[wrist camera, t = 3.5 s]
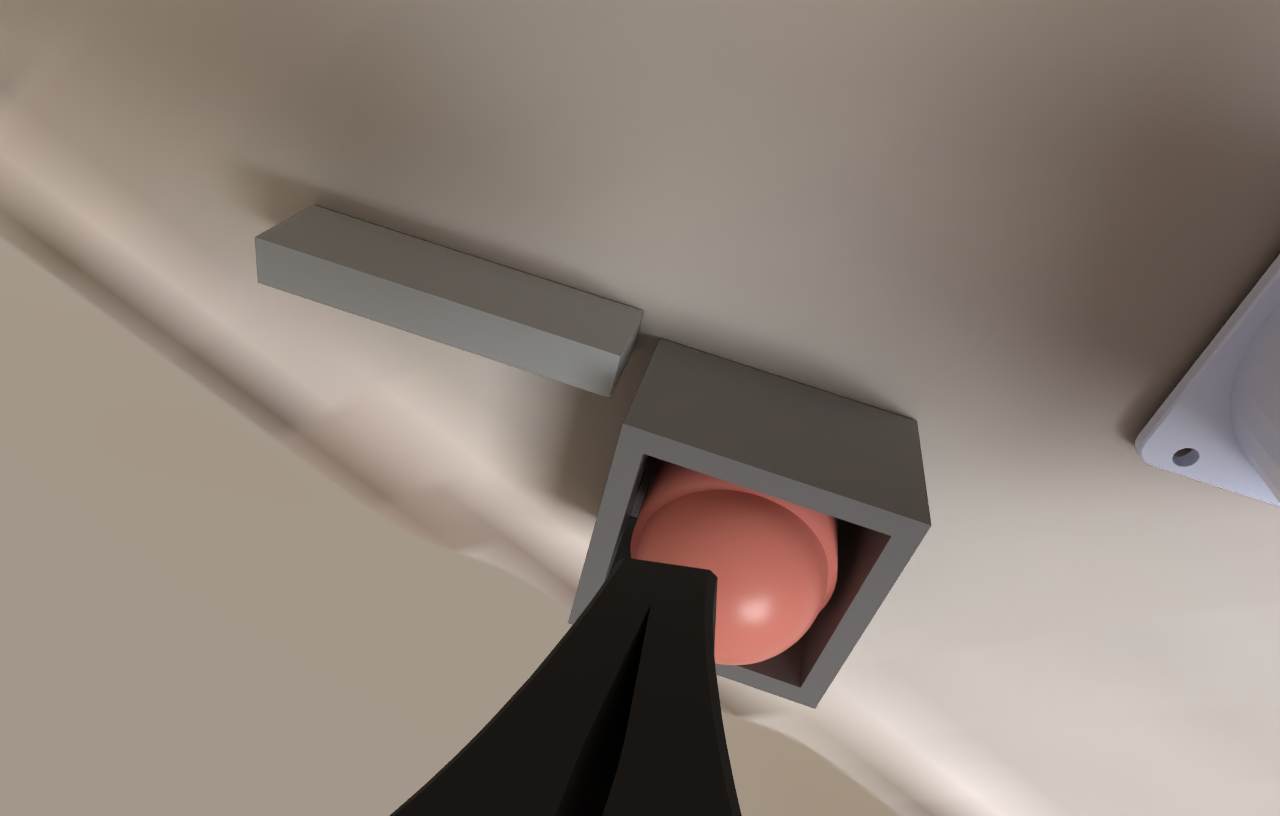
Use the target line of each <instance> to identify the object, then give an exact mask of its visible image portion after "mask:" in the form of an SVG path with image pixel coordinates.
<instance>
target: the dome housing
mask: <svg viewBox="0 0 1280 816" xmlns="http://www.w3.org/2000/svg"><path fill="white" fill-rule="evenodd" d="M648 455H649V456H652V457H655V458H658V459H661V460H664V461H667V462H670V463H673V464H676V465H679V466H682V467H685V468H688V469H691V470H694V471H697V472H700V473H703V474H706V475H709V476H712V477H715V478H718V479H721V480H724V481H727V482H730V483H733V484H736V485H739V486H742V487H745V488H748V489H751V490H754V491H757V492H760V493H763V494H766V495H769V496H772V497H775V498H778V499H781V500H784V501H787V502H790V503H793V504H796V505H799V506H802V507H805V508H808V509H812V510H815V511H818V512H821V513H824V514H827V515H830V516H833V517H836V518H838V568H837V581H836V585H835V589H834V592H833V594H832V596H831V598H830V600H829V601H828V603H827V604H826V606H825V607H824V608H823V609H822V610H821V611H820V612H819V613H818V615H817V617H816V619H815V620H814V622H813V624H812V625H811V626H810V628H809V629H808V630H807V632H806V633H805V634H804V635H803V636H802V637H801V638H800V639H799V640H798V641H797V642H796V643H795V644H793V645H792V646H791V647H789V648H788V649H787V650H785V651H784V652H782V653H780V654H778V655H776V656H774V657H772V658H769V659H767V660H764V661H761V662H758V663H753V664H747V665H722V664H716V663H715V667H716V675H719V676H722V677H725V678H728V679H731V680H734V681H737V682H739V683H742V684H745V685H748V686H751V687H754V688H757V689H760V690H762V691H765V692H768V693H771V694H774V695H777V696H780V697H783V698H786V699H788V700H791V701H794V702H797V703H800V704H803V705H806V706H809V707H811V708H814V709H815V708H816V706H817V705H818V703H819V701H820V700H821V698H822V697H823V695H824V694H825V692H826V690H827V689H828V687H829V686H830V684H831V683H832V681H833V679H834V678H835V676H836V675H837V673H838V672H839V670H840V668H841V667H842V665H843V664H844V662H845V661H846V659H847V657H848V656H849V654H850V653H851V651H852V650H853V648H854V646H855V645H856V643H857V642H858V640H859V639H860V637H861V635H862V634H863V632H864V631H865V629H866V628H867V626H868V624H869V623H870V621H871V620H872V618H873V616H874V615H875V613H876V612H877V610H878V609H879V607H880V605H881V604H882V602H883V601H884V599H885V598H886V596H887V594H888V593H889V591H890V590H891V588H892V587H893V585H894V583H895V582H896V580H897V579H898V577H899V576H900V574H901V572H902V571H903V569H904V568H905V566H906V565H907V563H908V561H909V560H910V558H911V557H912V555H913V554H914V552H915V550H916V549H917V547H918V546H919V544H920V543H921V541H922V539H923V538H924V536H925V535H926V533H927V531H928V530H929V528H930V527H931V519H930V512H929V505H928V498H927V491H926V483H925V476H924V469H923V462H922V454H921V447H920V440H919V433H918V425H917V421H915V420H912V419H909V418H906V417H903V416H899V415H896V414H893V413H890V412H887V411H884V410H881V409H878V408H875V407H872V406H869V405H865V404H862V403H859V402H856V401H853V400H850V399H847V398H844V397H841V396H838V395H834V394H831V393H828V392H825V391H822V390H819V389H816V388H813V387H810V386H807V385H804V384H800V383H797V382H794V381H791V380H788V379H785V378H782V377H779V376H776V375H773V374H769V373H766V372H763V371H760V370H757V369H754V368H751V367H748V366H745V365H742V364H739V363H735V362H732V361H729V360H726V359H723V358H720V357H717V356H714V355H711V354H708V353H704V352H701V351H698V350H695V349H692V348H689V347H686V346H683V345H680V344H677V343H674V342H670V341H667V340H664V339H661V338H660V340H659V342H658V344H657V347H656V349H655V351H654V354H653V356H652V358H651V360H650V363H649V365H648V367H647V369H646V372H645V374H644V376H643V379H642V381H641V383H640V385H639V388H638V390H637V392H636V395H635V397H634V399H633V401H632V404H631V406H630V408H629V410H628V413H627V415H626V417H625V420H624V422H623V425H622V428H621V432H620V435H619V439H618V443H617V446H616V450H615V454H614V457H613V461H612V465H611V468H610V472H609V476H608V479H607V483H606V486H605V490H604V494H603V497H602V501H601V505H600V508H599V512H598V516H597V519H596V523H595V527H594V530H593V534H592V537H591V541H590V545H589V548H588V552H587V556H586V559H585V563H584V567H583V570H582V574H581V578H580V581H579V585H578V588H577V592H576V596H575V599H574V603H573V607H572V610H571V614H570V618H569V621H568V623H569V624H572V625H573V624H574V623H575V621H576V620H577V619H578V618H579V616H580V615H581V614H582V612H583V611H584V610H585V608H586V607H587V606H588V604H589V603H590V602H591V600H592V599H593V597H594V596H595V595H596V593H597V592H598V590H599V589H600V588H601V586H602V585H603V583H604V582H605V580H606V579H607V577H608V576H609V574H610V573H611V571H612V570H613V568H614V567H615V565H616V564H617V562H619V561H620V560H622V559H623V558H631V551H630V550H631V539H632V534H633V530H634V528H635V525H636V522H637V519H636V518H633V517H630V514H631V510H632V507H633V504H634V501H635V498H636V494H637V491H638V488H639V485H640V481H641V478H642V475H643V472H644V468H645V465H646V462H647V459H648Z"/></svg>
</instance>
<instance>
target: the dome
mask: <svg viewBox="0 0 1280 816" xmlns="http://www.w3.org/2000/svg"><path fill="white" fill-rule="evenodd" d="M630 551H631V558H632V559H639V560H646V561H653V562H660V563H667V564H673V565H680V566H687V567H694V568H701V569H708V570H711V571H712V572H713V573H714V574H715V575H716V576H717V577H718V580H717V602H716V625H715V648H714V657H715V663H716V664H722V665H747V664H753V663H758V662H761V661H764V660H767V659H769V658H772V657H774V656H776V655H778V654H780V653H782V652H784V651H785V650H787V649H788V648H789V647H791V646H792V645H793V644H795V643H796V642H797V641H798V640H799V639H800V638H801V637H802V636H803V635H804V634H805V633H806V632H807V630H808V629H809V628H810V626H811V625H812V624H813V622H814V620H815V619H816V617H817V615H818V613H819V612H820V611H821V610H822V609H823V608H824V607H825V606H826V604H827V603H828V601H829V600H830V598H831V596H832V594H833V592H834V589H835V585H836V581H837V568H838V518H836V517H833V516H830V515H827V514H824V513H821V512H818V511H815V510H812V509H808V508H805V507H802V506H799V505H796V504H793V503H790V502H787V501H784V500H781V499H778V498H775V497H772V496H769V495H766V494H763V493H760V492H757V491H754V490H751V489H748V488H745V487H742V486H739V485H736V484H733V483H730V482H727V481H724V480H721V479H718V478H715V477H712V476H709V475H706V474H703V473H700V472H697V471H694V470H691V469H688V468H685V467H682V466H679V465H676V464H673V463H670V462H667V461H664V460H661V459H658V462H657V464H656V467H655V470H654V473H653V476H652V478H651V481H650V484H649V487H648V490H647V493H646V496H645V499H644V502H643V504H642V507H641V510H640V513H639V516H638V519H637V522H636V525H635V528H634V530H633V534H632V539H631V550H630Z"/></svg>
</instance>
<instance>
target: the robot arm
mask: <svg viewBox="0 0 1280 816" xmlns="http://www.w3.org/2000/svg"><path fill="white" fill-rule="evenodd" d="M1184 448H1192V450H1191V452H1189V453H1188V454H1186V455H1184V456H1180V457H1175V456H1173V455H1174V454H1175V453H1176V452H1177V451H1179V450H1181V449H1184ZM1135 449H1136V451H1137V453H1138V455H1139V457H1140V458H1141V459H1142V461H1143V462H1145V463H1146V464H1148V465H1150V466H1153V467H1156V468H1159V469H1163V470H1166V471H1169V472H1172V473H1175V474H1178V475H1181V476H1184V477H1187V478H1191V479H1194V480H1197V481H1200V482H1203V483H1206V484H1209V485H1212V486H1216V487H1219V488H1222V489H1225V490H1228V491H1231V492H1234V493H1237V494H1240V495H1244V496H1247V497H1250V498H1253V499H1256V500H1259V501H1262V502H1265V503H1269V504H1272V505H1275V506H1278V507H1280V254H1279V256H1278V257H1277V258H1276V259H1275V261H1274V262H1273V263H1272V264H1271V266H1270V267H1269V268H1268V270H1267V271H1266V272H1265V273H1264V275H1263V276H1262V277H1261V279H1260V280H1259V281H1258V282H1257V284H1256V285H1255V286H1254V288H1253V289H1252V290H1251V291H1250V293H1249V294H1248V295H1247V296H1246V298H1245V299H1244V300H1243V302H1242V303H1241V304H1240V305H1239V307H1238V308H1237V309H1236V311H1235V312H1234V313H1233V314H1232V316H1231V317H1230V318H1229V320H1228V321H1227V322H1226V323H1225V325H1224V326H1223V327H1222V328H1221V330H1220V331H1219V332H1218V334H1217V335H1216V336H1215V337H1214V339H1213V340H1212V341H1211V343H1210V344H1209V345H1208V346H1207V348H1206V349H1205V350H1204V352H1203V353H1202V354H1201V355H1200V357H1199V358H1198V359H1197V360H1196V362H1195V363H1194V364H1193V366H1192V367H1191V368H1190V369H1189V371H1188V372H1187V373H1186V375H1185V376H1184V377H1183V378H1182V380H1181V381H1180V382H1179V384H1178V385H1177V386H1176V387H1175V389H1174V390H1173V391H1172V392H1171V394H1170V395H1169V396H1168V398H1167V399H1166V400H1165V401H1164V403H1163V404H1162V405H1161V407H1160V408H1159V409H1158V410H1157V412H1156V413H1155V414H1154V416H1153V417H1152V418H1151V419H1150V421H1149V422H1148V423H1147V424H1146V426H1145V427H1144V428H1143V430H1142V431H1141V432H1140V433H1139V435H1138V436H1137V438H1136V441H1135ZM717 580H718V577H717V576H716V575H715V574H714V573H713V572H712V571H711V570H708V569H701V568H694V567H687V566H680V565H673V564H667V563H660V562H653V561H646V560H639V559H632V558H623V559H622V560H620V561H619V562H617V564H616V565H615V567H614V568H613V570H612V571H611V573H610V574H609V576H608V577H607V579H606V580H605V582H604V583H603V585H602V586H601V588H600V589H599V590H598V592H597V593H596V595H595V596H594V597H593V599H592V600H591V602H590V603H589V604H588V606H587V607H586V608H585V610H584V611H583V612H582V614H581V615H580V616H579V618H578V619H577V620H576V621H575V623H574V624H573V626H572V627H571V628H570V629H569V631H568V632H567V633H566V634H565V636H564V637H563V638H562V639H561V640H560V642H559V643H558V644H557V645H556V647H555V648H554V649H553V650H552V651H551V653H550V654H549V655H548V656H547V658H546V659H545V660H544V661H543V662H542V664H541V665H540V666H539V667H538V668H537V670H536V671H535V672H534V673H533V674H532V675H531V677H530V678H529V679H528V680H527V681H526V682H525V683H524V684H523V686H522V687H521V688H520V689H519V690H518V691H517V692H516V693H515V694H514V695H513V697H512V698H511V699H510V700H509V701H508V702H507V703H506V704H505V705H504V707H503V708H502V709H501V710H500V711H499V712H498V713H497V714H496V715H495V716H494V717H493V718H492V719H491V721H490V722H489V723H488V724H487V725H486V726H485V727H484V728H483V729H482V730H481V731H480V732H479V733H478V734H477V735H476V736H475V737H474V738H473V739H472V740H471V741H470V742H469V743H468V744H467V745H466V746H465V747H464V748H463V749H462V750H461V751H460V752H459V753H458V754H457V755H456V756H455V757H454V758H453V759H452V760H451V761H450V762H449V763H448V764H447V765H445V766H444V768H442V769H441V770H440V771H439V772H438V773H437V774H436V775H435V776H434V777H433V778H432V779H431V780H430V781H428V782H427V783H426V784H425V785H424V786H423V787H422V788H421V789H420V790H419V791H417V792H416V793H415V794H414V795H413V796H412V797H411V798H409V799H408V800H407V801H406V802H405V803H404V804H403V805H401V806H400V807H399V808H398V809H397V810H396V811H395V812H393V813H392V814H391V815H390V816H741V812H740V807H739V803H738V798H737V794H736V789H735V785H734V780H733V775H732V770H731V765H730V760H729V755H728V750H727V745H726V739H725V733H724V727H723V722H722V715H721V707H720V700H719V692H718V684H717V677H716V667H715V657H714V648H715V625H716V602H717Z"/></svg>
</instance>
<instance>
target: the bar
mask: <svg viewBox="0 0 1280 816" xmlns="http://www.w3.org/2000/svg"><path fill="white" fill-rule="evenodd" d="M255 246H256V261H257V275H258V283H261V284H264V285H267V286H270V287H273V288H276V289H279V290H282V291H285V292H288V293H291V294H294V295H297V296H300V297H304V298H307V299H310V300H313V301H316V302H319V303H322V304H325V305H328V306H331V307H334V308H337V309H340V310H343V311H346V312H349V313H352V314H355V315H358V316H361V317H364V318H367V319H370V320H373V321H377V322H380V323H383V324H386V325H389V326H392V327H395V328H398V329H401V330H404V331H407V332H410V333H413V334H416V335H419V336H422V337H425V338H428V339H431V340H434V341H437V342H440V343H443V344H446V345H449V346H453V347H456V348H459V349H462V350H465V351H468V352H471V353H474V354H477V355H480V356H483V357H486V358H489V359H492V360H495V361H498V362H501V363H504V364H507V365H510V366H513V367H516V368H519V369H522V370H525V371H529V372H532V373H535V374H538V375H541V376H544V377H547V378H550V379H553V380H556V381H559V382H562V383H565V384H568V385H571V386H574V387H577V388H580V389H583V390H586V391H589V392H592V393H595V394H598V395H601V396H605V397H608V398H610V396H611V394H612V392H613V390H614V388H615V386H616V384H617V382H618V380H619V378H620V376H621V374H622V372H623V370H624V368H625V366H626V364H627V362H628V359H629V357H630V355H631V353H632V351H633V348H634V344H635V341H636V337H637V333H638V329H639V326H640V322H641V318H642V314H643V311H642V310H639V309H636V308H633V307H630V306H626V305H623V304H620V303H617V302H614V301H611V300H608V299H605V298H602V297H598V296H595V295H592V294H589V293H586V292H583V291H580V290H577V289H574V288H570V287H567V286H564V285H561V284H558V283H555V282H552V281H549V280H546V279H542V278H539V277H536V276H533V275H530V274H527V273H524V272H521V271H518V270H514V269H511V268H508V267H505V266H502V265H499V264H496V263H493V262H490V261H486V260H483V259H480V258H477V257H474V256H471V255H468V254H465V253H462V252H458V251H455V250H452V249H449V248H446V247H443V246H440V245H437V244H434V243H431V242H427V241H424V240H421V239H418V238H415V237H412V236H409V235H406V234H403V233H399V232H396V231H393V230H390V229H387V228H384V227H381V226H378V225H375V224H371V223H368V222H365V221H362V220H359V219H356V218H353V217H350V216H347V215H343V214H340V213H337V212H334V211H331V210H328V209H325V208H322V207H319V206H315V205H313V206H311V207H309V208H307V209H305V210H304V211H302V212H300V213H298V214H296V215H294V216H293V217H291V218H289V219H287V220H285V221H283V222H282V223H280V224H278V225H276V226H274V227H272V228H271V229H269V230H267V231H265V232H263V233H262V234H260V235H258V236H256V237H255Z"/></svg>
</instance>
